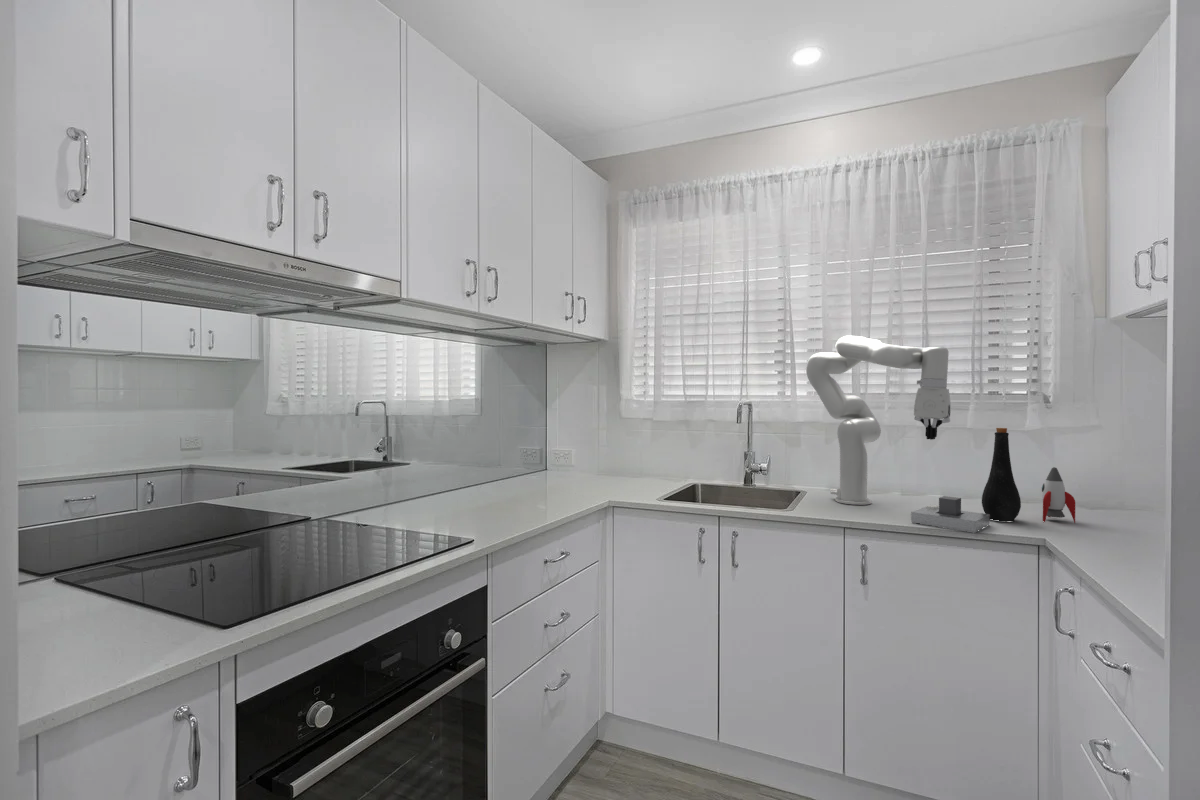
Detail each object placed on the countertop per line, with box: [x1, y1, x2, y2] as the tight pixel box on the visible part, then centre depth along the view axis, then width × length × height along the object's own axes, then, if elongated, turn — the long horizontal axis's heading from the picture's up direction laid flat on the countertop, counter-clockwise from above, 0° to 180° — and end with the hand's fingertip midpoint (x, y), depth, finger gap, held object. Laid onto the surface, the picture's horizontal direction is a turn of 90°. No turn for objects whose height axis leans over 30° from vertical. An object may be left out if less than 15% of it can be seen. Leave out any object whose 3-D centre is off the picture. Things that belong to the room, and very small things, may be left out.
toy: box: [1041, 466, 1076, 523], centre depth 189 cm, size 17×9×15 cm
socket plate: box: [910, 504, 991, 534], centre depth 186 cm, size 18×14×4 cm
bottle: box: [981, 427, 1022, 522], centre depth 192 cm, size 11×11×30 cm
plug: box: [938, 495, 962, 516], centre depth 187 cm, size 5×7×8 cm, turn 132°
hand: (930, 438), depth 197 cm, fingers closed
